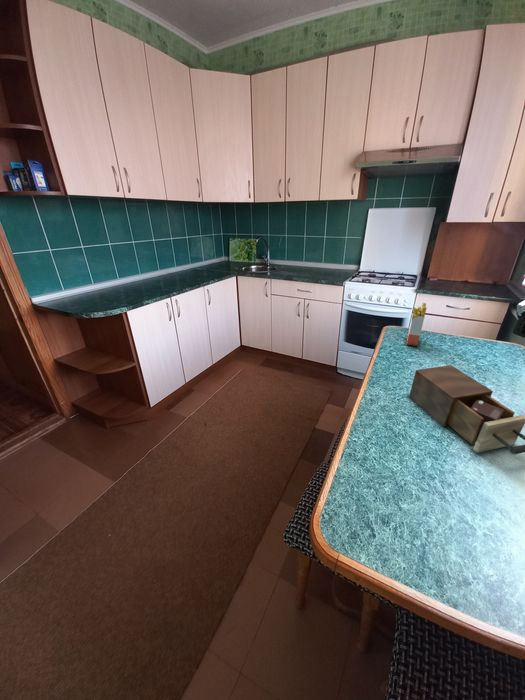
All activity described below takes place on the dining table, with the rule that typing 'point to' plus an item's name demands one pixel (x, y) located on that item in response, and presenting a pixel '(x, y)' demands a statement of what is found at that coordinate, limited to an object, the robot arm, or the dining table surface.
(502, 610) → the dining table surface
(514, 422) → the drawer
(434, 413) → the cabinet
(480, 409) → the box
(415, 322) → the french fries container
